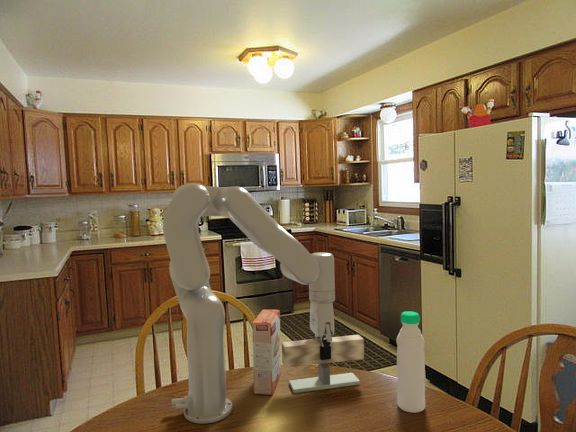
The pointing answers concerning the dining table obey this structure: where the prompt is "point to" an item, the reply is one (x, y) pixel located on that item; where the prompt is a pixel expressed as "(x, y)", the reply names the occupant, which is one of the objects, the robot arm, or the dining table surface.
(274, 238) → the robot arm
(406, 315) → the water bottle
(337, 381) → the stand
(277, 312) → the cracker box
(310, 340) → the birch bar
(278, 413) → the dining table surface
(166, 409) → the dining table surface
